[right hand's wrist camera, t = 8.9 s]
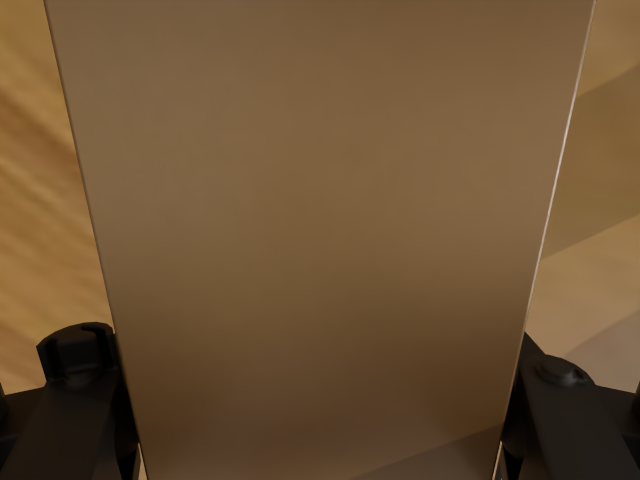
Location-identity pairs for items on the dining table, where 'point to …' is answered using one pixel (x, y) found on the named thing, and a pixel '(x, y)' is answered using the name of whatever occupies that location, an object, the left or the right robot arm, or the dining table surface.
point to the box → (319, 221)
